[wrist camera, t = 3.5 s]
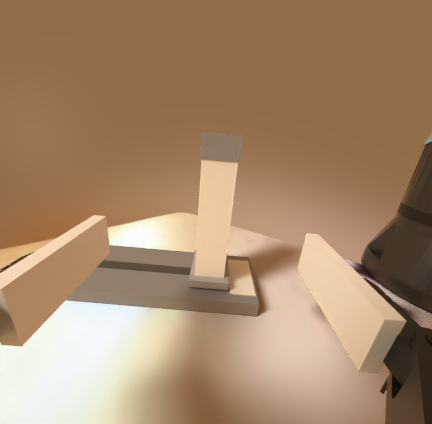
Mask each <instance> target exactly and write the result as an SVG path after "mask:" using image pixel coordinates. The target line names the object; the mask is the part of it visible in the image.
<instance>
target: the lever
mask: <svg viewBox="0 0 432 424" xmlns="http://www.w3.org/2000/svg"><path fill="white" fill-rule="evenodd" d="M241 144H242V136H240V135H229V134H218V133H208V132H202V138H201V155H200V158H202V161H201V177H200V194H199V211H198V227H197V244H196V250H195V254H194V258H193V263H192V267H191V272H190V276H189V281H188V287H196V288H208V289H219V290H228V287H229V277H228V259H227V247H228V239H229V231H230V223H231V215H232V206H233V198H234V190H235V181H236V173H237V166H238V162H239V160H240V152H241Z"/></svg>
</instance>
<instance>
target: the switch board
mask: <svg viewBox="0 0 432 424" xmlns="http://www.w3.org/2000/svg"><path fill="white" fill-rule="evenodd" d="M109 248H110V254H109V255H108V256H107V257H106V258H105V259H104V260H103V261H102V262H101V263H100V264H99V265H98V266H97V267H96V268H95V269H94V271H93V272H92V273H91V274H90V275H89V276H88V277H87V278H86V279H85V280H84V281H83V282H82V283H81V284H80V285H79V286H78V287H77V288H76V290H75V291H74V292H73V293H72V294H71V295H70V296H69V297H68V298H67V299H66V300H71V301H83V302H95V303H106V304H118V305H130V306H142V307H153V308H165V309H177V310H189V311H201V312H212V313H224V314H236V315H248V316H257V314H258V309H259V300H258V296H257V292H256V287H255V283H254V279H253V274H252V270H251V266H250V262H249V257H238V256H227V259H228V277H229V287H228V290H219V289H208V288H196V287H188V281H189V276H190V272H191V267H192V263H193V258H194V254H195V253H192V252H181V251H169V250H158V249H146V248H135V247H124V246H112V245H109Z"/></svg>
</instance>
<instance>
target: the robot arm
mask: <svg viewBox="0 0 432 424" xmlns="http://www.w3.org/2000/svg"><path fill="white" fill-rule="evenodd" d="M424 146H425V148H424V150H423V153H422V155H421V158H420V160H419V162H418V164H417V167H416V169H415V172H414V174H413V177H412V179H411V181H410V183H409V185H408V188H407V190H406V192H405V195H404V197H403V199H402V201H401V204H400V206H399V208H398V211H397V213H396V215H395V217H394V218H393V219H392V220H391V221H390V222H389V223H388V224H387V225H386V226H385V227H384V228H383V229H382V230H381V231H380V233H378V234H377V235H376V236H375V237H374V239H373V240H372V241H371V242H370V243H369V244H368V245H367V246H366V248H365V251H364V253H363V256H362V258H361V262H362V265H363V267H364V268H365V270H366V271H367V272H368V273H369V274H370V275H371V276H372V277H373V278H374V279H375V280H376V281H378V282H379V283H380V284H382V285H383V286H384V287H386V288H387V289H389V290H390V291H392V292H393V293H395V294H397V295H398V296H400V297H402V298H403V299H405V300H407V301H409V302H411V303H413V304H415V305H417V306H419V307H421V308H423V309H425V310H427V311H429V312H432V132H431V134H430V136H429V138H428V140H426V141H425V142H424ZM109 254H110V248H109V239H108V230H107V222H106V216H97V215H94V216H92V217H90V218H89V219H87V220H86V221H84V222H82V223H81V224H79V225H78V226H76V227H74V228H73V229H71V230H69V231H68V232H66V233H65V234H63V235H61V236H60V237H58V238H56V239H55V240H53V241H52V242H50V243H48V244H47V245H45V246H44V247H42V248H40V249H39V250H37V251H35V252H33V253H30V254H28V255H25V256H23V257H21V258H19V259H17V260H16V261H14V262H12V263H11V264H10V265H7V266H6V267H4V268H2V269H1V271H0V342H1V344H2V345H12V346H23V344H24V343H25V342H26V341H27V340H28V339H29V338H30V337H31V336H32V335H33V334H34V333H35V332H36V331H37V330H38V329H39V328H40V327H41V325H42V324H43V323H44V322H45V321H46V320H47V319H48V318H49V317H50V316H51V315H52V314H53V313H54V312H55V311H56V310H57V309H58V308H59V306H60V305H61V304H62V303H63V302H64V301H65V300H66V299H67V298H68V297H69V296H70V295H71V294H72V293H73V292H74V291H75V290H76V288H77V287H78V286H79V285H80V284H81V283H82V282H83V281H84V280H85V279H86V278H87V277H88V276H89V275H90V274H91V273H92V272H93V271H94V269H95V268H96V267H97V266H98V265H99V264H100V263H101V262H102V261H103V260H104V259H105V258H106V257H107V256H108V255H109ZM297 269H298V271H299V272H300V274H301V276H302V277H303V279H304V281H305V283H306V284H307V286H308V288H309V289H310V291H311V293H312V294H313V296H314V298H315V299H316V301H317V303H318V304H319V306H320V308H321V309H322V311H323V313H324V315H325V316H326V318H327V320H328V321H329V323H330V325H331V326H332V328H333V330H334V331H335V333H336V335H337V336H338V338H339V340H340V341H341V343H342V345H343V346H344V348H345V350H346V352H347V353H348V355H349V357H350V358H351V360H352V362H353V363H354V365H355V367H356V368H357V370H358V372H371V373H378V371H379V370H380V368H381V366H382V364H383V362H384V363H385V365H386V366H387V367H388V369H389V370H390V372H391V373H390V374H389V376H388V378H387V379H386V381H385V383H384V384H383V386H382V388H381V390H380V392H381V393H383V394H384V392H385V391H386V390H387V399H386V422H385V424H432V329H429V328H423V327H420V326H419V325H418V324H417V323H416V322H415V321H414V320H413V319H412V318H411V317H410V316H409V315H408V314H407V313H405V312H404V311H403V310H402V309H401V308H400V307H399V306H398V305H397V304H396V303H395V302H393V300H392V299H391V298H390V297H388V296H387V295H385V293H384V292H383V291H382V290H381V289H380V288H379V287H378V286H377V285H375V284H374V283H372V282H371V281H369V280H367V279H366V278H362V277H361V276H360V275H359V274H358V273H357V272H356V271H355V270H354V269H353V268H352V267H351V266H350V265H349V264H348V263H347V262H346V261H345V260H344V259H343V258H342V257H341V256H340V255H339V254H338V253H337V252H335V250H334V249H333V248H332V247H331V246H330V245H328V244H327V243H326V242H325V241H324V240H323V239H322V238H321V237H320V236H319V235H318V234H306V238H305V242H304V245H303V249H302V253H301V256H300V260H299V264H298V267H297Z"/></svg>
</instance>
